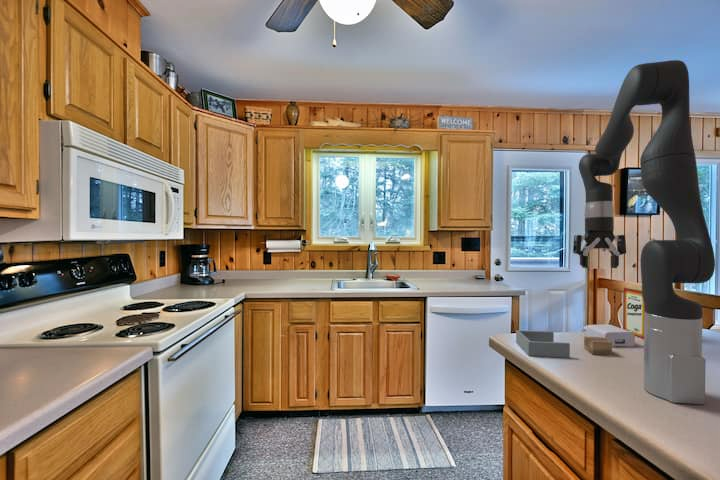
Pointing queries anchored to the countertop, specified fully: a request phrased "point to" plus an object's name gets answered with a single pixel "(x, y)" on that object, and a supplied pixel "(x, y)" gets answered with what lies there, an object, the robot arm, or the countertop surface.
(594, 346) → the brown wooden block
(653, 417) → the countertop surface
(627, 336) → the charger
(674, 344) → the robot arm
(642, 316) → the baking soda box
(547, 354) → the box
